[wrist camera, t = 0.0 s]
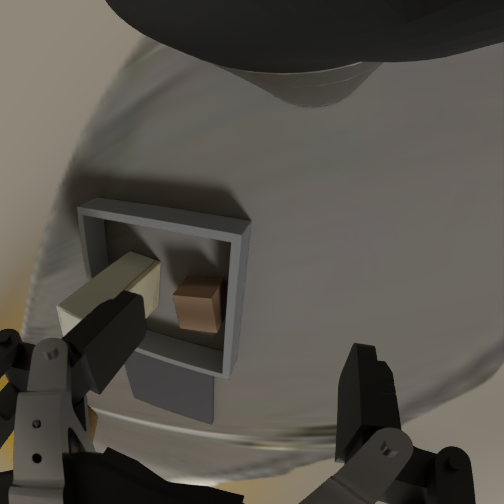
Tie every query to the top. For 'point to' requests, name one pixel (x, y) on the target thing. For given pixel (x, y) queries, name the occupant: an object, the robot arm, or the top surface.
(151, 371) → the place mat
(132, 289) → the skincare box
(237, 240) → the parts bin
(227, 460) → the top surface
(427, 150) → the top surface
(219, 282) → the walnut block
